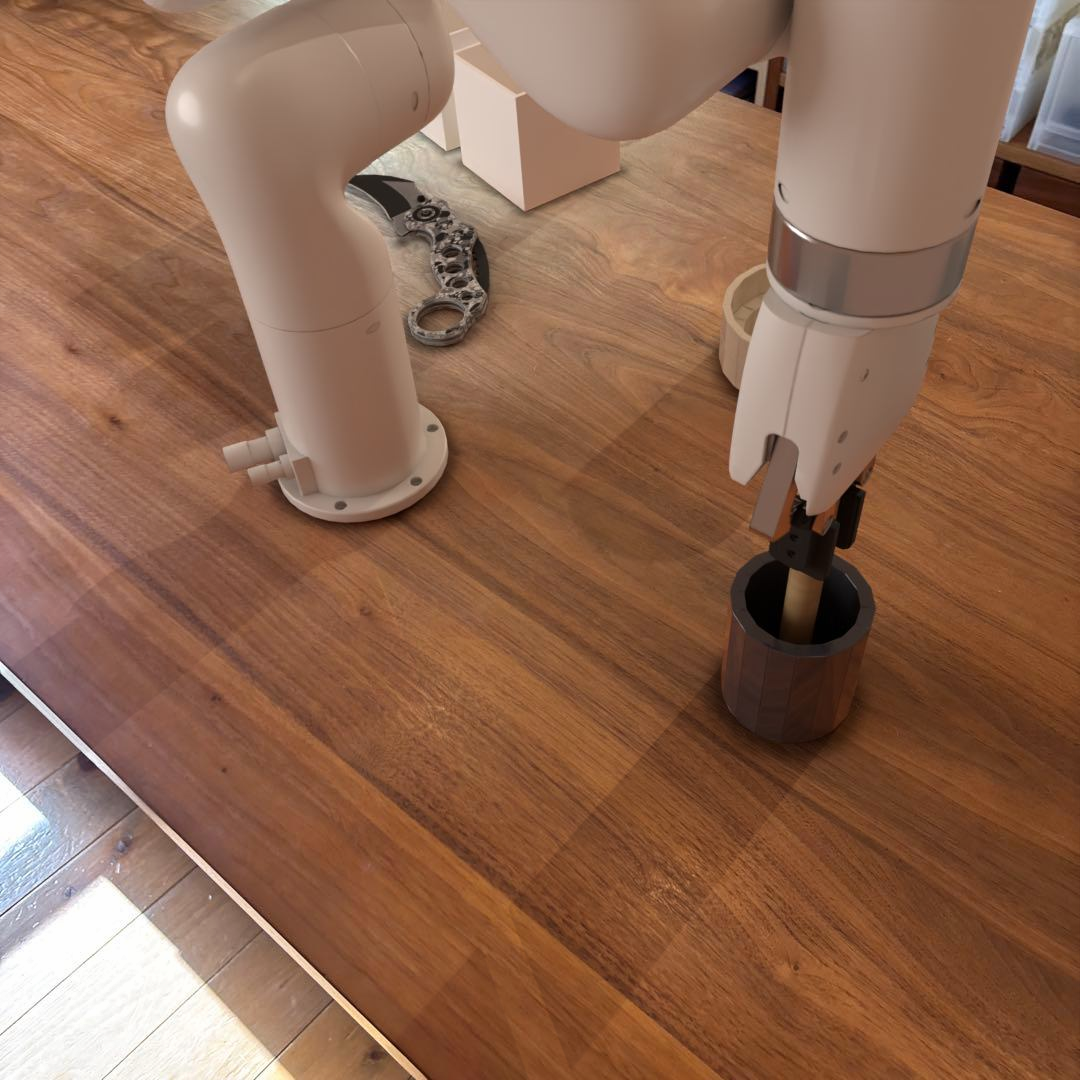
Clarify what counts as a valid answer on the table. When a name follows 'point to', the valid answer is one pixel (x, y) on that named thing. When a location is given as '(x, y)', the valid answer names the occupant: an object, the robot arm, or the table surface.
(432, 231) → the knife
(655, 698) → the table surface
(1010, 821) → the table surface
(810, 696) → the utensil pot
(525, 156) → the open boxes
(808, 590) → the stirring stick
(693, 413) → the table surface
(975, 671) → the table surface
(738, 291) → the bowl
